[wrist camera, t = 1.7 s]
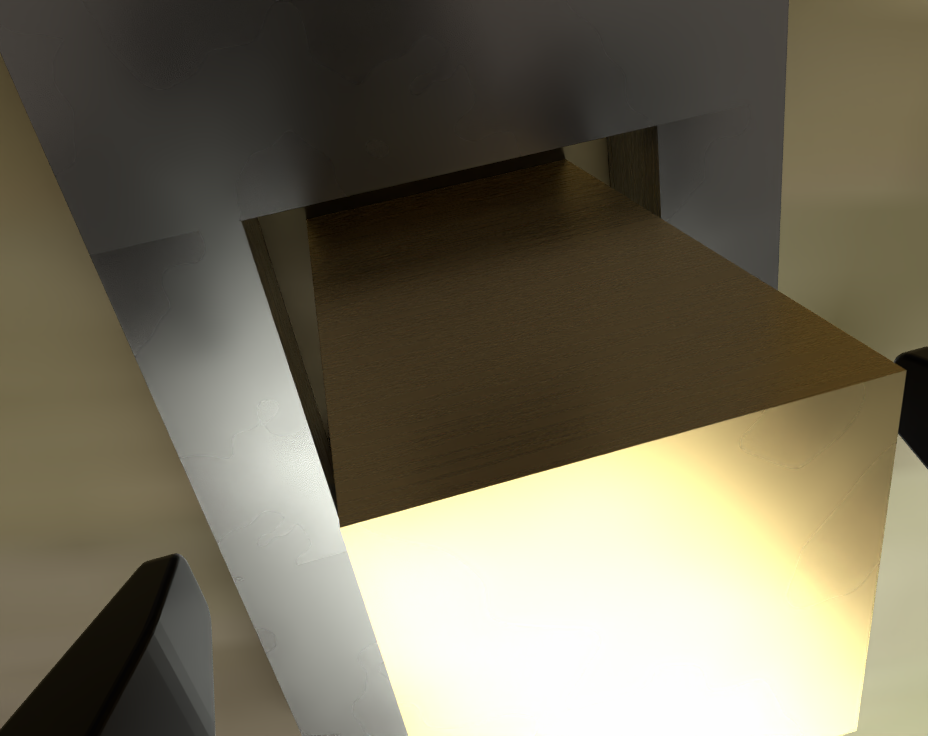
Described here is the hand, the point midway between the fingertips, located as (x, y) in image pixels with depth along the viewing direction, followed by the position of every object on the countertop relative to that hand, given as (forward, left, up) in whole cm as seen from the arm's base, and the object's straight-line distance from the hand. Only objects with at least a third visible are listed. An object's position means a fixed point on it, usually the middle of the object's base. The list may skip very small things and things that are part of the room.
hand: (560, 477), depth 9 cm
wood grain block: (0, 0, -5) cm, 5 cm away
